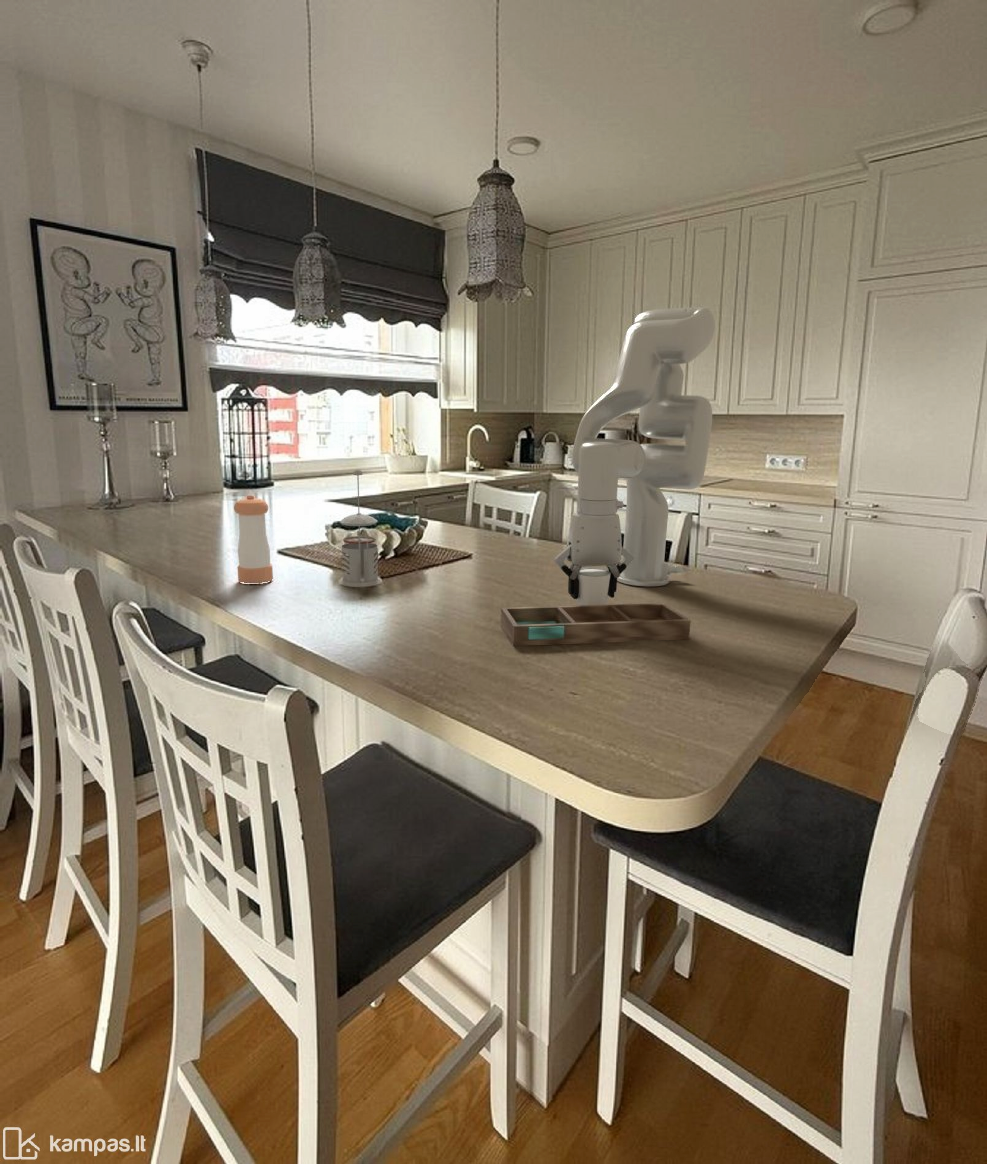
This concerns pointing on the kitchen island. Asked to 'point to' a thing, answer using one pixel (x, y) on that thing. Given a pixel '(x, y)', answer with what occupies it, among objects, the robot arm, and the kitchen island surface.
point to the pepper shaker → (253, 541)
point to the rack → (593, 624)
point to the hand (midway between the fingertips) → (591, 595)
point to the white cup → (593, 586)
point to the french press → (359, 552)
